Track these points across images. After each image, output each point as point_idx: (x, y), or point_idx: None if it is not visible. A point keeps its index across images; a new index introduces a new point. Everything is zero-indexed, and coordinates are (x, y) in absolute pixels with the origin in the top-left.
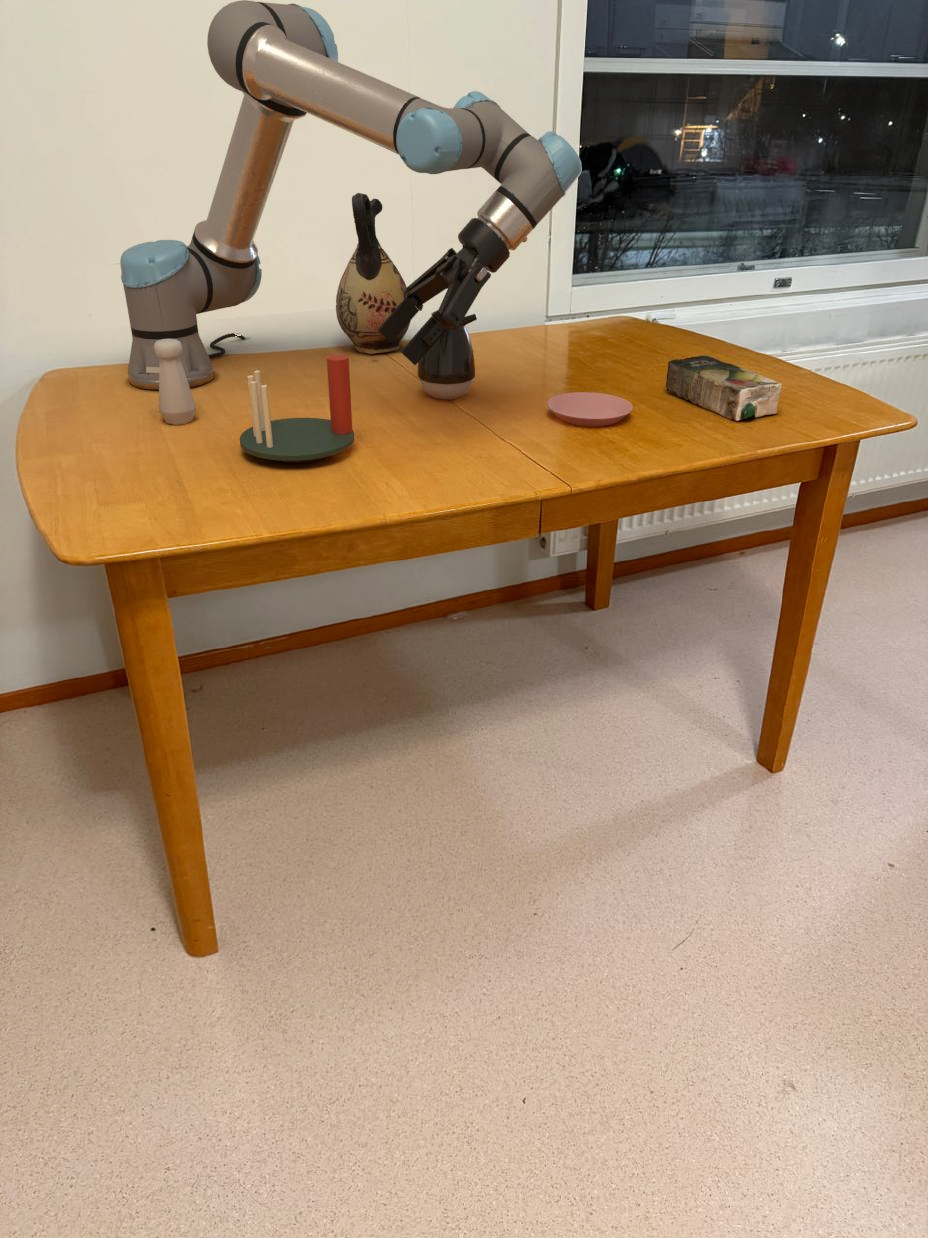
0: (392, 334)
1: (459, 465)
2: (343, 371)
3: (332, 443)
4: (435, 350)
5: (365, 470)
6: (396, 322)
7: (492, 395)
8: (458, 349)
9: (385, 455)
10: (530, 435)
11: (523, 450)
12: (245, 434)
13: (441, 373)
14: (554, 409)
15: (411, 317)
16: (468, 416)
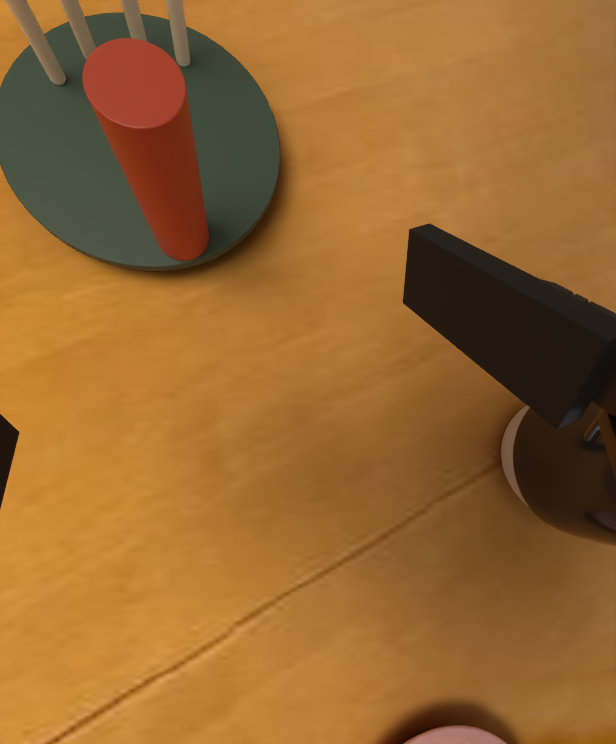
0: (422, 299)
1: (63, 528)
2: (109, 141)
3: (87, 219)
4: (600, 445)
5: (26, 312)
6: (462, 304)
7: (547, 557)
8: (613, 519)
9: (131, 349)
10: (285, 681)
11: (176, 677)
12: (150, 24)
13: (533, 456)
14: (442, 734)
15: (505, 382)
16: (404, 515)
